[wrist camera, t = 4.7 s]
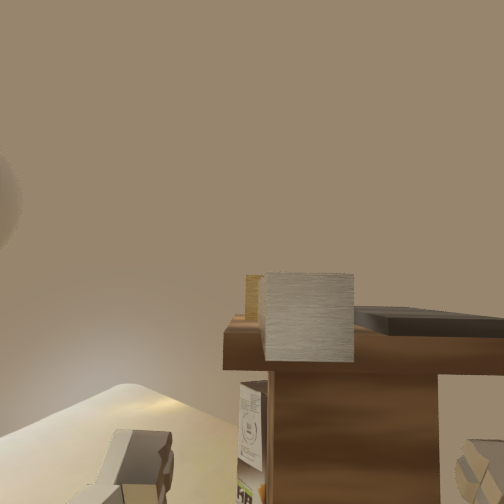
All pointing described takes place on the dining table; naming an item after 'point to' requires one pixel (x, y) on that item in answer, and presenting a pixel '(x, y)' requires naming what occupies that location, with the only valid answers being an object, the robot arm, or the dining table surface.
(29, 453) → the dining table surface
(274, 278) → the grey and tan bar
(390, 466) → the scale stand
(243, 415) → the coffee box
